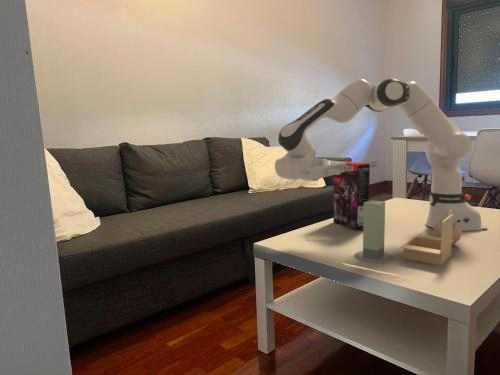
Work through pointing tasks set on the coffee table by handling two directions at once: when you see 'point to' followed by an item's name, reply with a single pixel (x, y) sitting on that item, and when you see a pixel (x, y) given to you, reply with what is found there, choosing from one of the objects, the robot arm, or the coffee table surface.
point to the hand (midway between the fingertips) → (346, 170)
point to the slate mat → (383, 259)
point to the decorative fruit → (455, 233)
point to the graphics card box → (351, 195)
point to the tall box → (373, 229)
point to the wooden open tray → (431, 245)
